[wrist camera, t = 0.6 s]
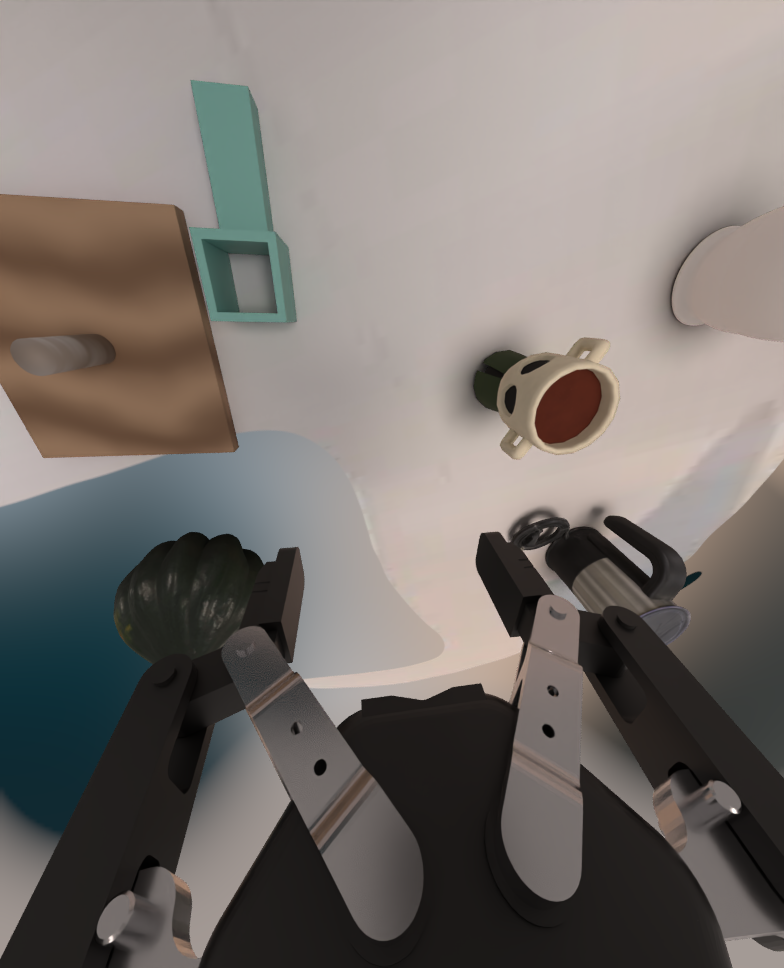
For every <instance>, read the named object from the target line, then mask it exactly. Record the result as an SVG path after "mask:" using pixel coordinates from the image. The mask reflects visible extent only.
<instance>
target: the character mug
mask: <svg viewBox="0 0 784 968" xmlns="http://www.w3.org/2000/svg"><path fill="white" fill-rule="evenodd" d="M609 348H610V342H609V341H608V340H605V339H596V338H585V337H584V338H580V339H579V340H578V341H577V342H576V343H575V344H574V345H573V347H572V348H571V349H570V351H569V352H568V353H567V355H566V356H565V355H560V354H554V353H547V352H545V353H540V354H535V355H531V356H529V357H526V356H524V355H522V354H519V353H516V352H513V351H511V350H507V351H501V352H496V353H494V354H493V355H491V356H490V357H488V358H487V359H485V360H484V362H483V363H485V364H487V365H489V367H488V368H487V369H486V370H485V373H484V372H481V371H477V373H476V376H475V381H474V390H475V394H476V398H477V399H478V400H479V401H480V402H481V403H482V405H483V406H484V407H486V408H488V409H491V410H494V411H497V412H499V414H500V417H501V419H502V421H503V422H504V423H505V424H506V425H507V426H508V427H509V428H510V430H509V431H508V433H507V434H506V435H505V437H504V438H503V439H502V441H501V443H500V446H501V449H502V450H503V451H504V452H505V453H506V454H508V455H509V456H510V457H511V458H512V459H516V460H520V459H521V458H522V457H523V456H524V455H525V454H526V453H527V451H528V450H529V449H530V448H531V446H532V445H534V446H535V447H537V448H538V449H540V450H542V451H545V452H548V453H552V454H555V455H561V454H570V453H574V452H576V451H579V450H581V449H583V448H585V447H587V446H589V445H590V444H592V443H593V442H594V441H595V440H596V439H597V438H599V437H600V436H601V435H602V434H603V433H604V432H605V430H606V429H607V427H608V426H609V424H610V423H611V421H612V420H613V418H614V417H615V414H616V411H617V407H618V404H619V400H620V391H619V381H618V380H617V378H616V377H615V375H614V373H613V372H612V370H611V369H610V368H608V367H605V366H603V365H601V364H598V363H599V362H600V360H601V359H602V358H603V357H604V355H605V354H606V353H607V352H608V350H609ZM584 351H591V352H590V353H589V354H588V355H587V357H586V358H585V359H580V358H579V357H580V356H581V355H582V353H583V352H584ZM519 435H520V436H521V437H523V439H522V440H521V441H520V443H519V444H518V445H517V446H514V445H513V443H514V441H515V440H516V439H517V438H518V436H519Z"/></svg>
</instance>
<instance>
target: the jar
mask: <svg viewBox="0 0 784 968" xmlns="http://www.w3.org/2000/svg"><path fill="white" fill-rule="evenodd" d="M672 308H673V312H674V314H675V316H676V318H677V319H678V320H679V321H680V322H681V323H683V324H685V325H690V326H697V325H702V324H707V325H708V326H710V327H712V328H715V329H717V330H721V331H724V332H729V333H734V334H740V335H743V336H747V337H751V338H756V339H761V340H768V341H777V342H784V206H782V207H780V208H777V209H775V210H772V211H770V212H768V213H766V214H763V215H761V216H759V217H757V218H755V219H753V220H752V221H750V222H748V223H746V224H745V225H743V226H729V227H725V228H722V229H720V230H718V231H716V232H714V233H712V234H711V235H709V236H708V237H707V238H705V239H704V240H703V241H702V242H701V243H700V244H699V245H698V246H697V247H696V248H695V249H694V250H693V251H692V252H691V254H690V255H689V256H688V258H687V259H686V260H685V262H684V264H683V265H682V267H681V269H680V271H679V273H678V275H677V278H676V280H675V284H674V287H673V292H672Z"/></svg>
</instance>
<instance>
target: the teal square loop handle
mask: <svg viewBox="0 0 784 968" xmlns="http://www.w3.org/2000/svg"><path fill="white" fill-rule="evenodd" d="M191 86H192V91H193V96H194V101H195V106H196V111H197V116H198V121H199V126H200V131H201V136H202V142H203V147H204V152H205V157H206V162H207V167H208V172H209V177H210V182H211V187H212V192H213V197H214V203H215V208H216V213H217V218H218V223H219V228H220V229H214V228H195V227H189V229H190V233H191V237H192V241H193V246H194V250H195V254H196V259H197V263H198V267H199V271H200V276H201V280H202V284H203V289H204V293H205V297H206V301H207V306H208V310H209V314H210V319H211V321H238V322H296V321H297V319H296V310H295V302H294V293H293V284H292V276H291V267H290V258H289V249H288V246H287V245H286V244H285V243H284V242H283V241H282V239H281V238H280V237H279V236H278V235H277V233H276V232H274V231H273V224H272V216H271V208H270V201H269V193H268V185H267V178H266V170H265V163H264V155H263V147H262V140H261V132H260V124H259V117H258V109H257V107H256V104H255V102H254V100H253V97H252V95H251V93H250V90H249V88H248V86H240V85H231V84H222V83H213V82H203V81H194V80H191ZM228 253H234V254H257V255H270V263H271V270H272V277H273V284H274V291H275V298H276V305H277V313H278V314H277V313H240V312H239V307H238V302H237V297H236V291H235V286H234V281H233V276H232V271H231V265H230V260H229V255H228Z"/></svg>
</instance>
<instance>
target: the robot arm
mask: <svg viewBox="0 0 784 968" xmlns="http://www.w3.org/2000/svg"><path fill="white" fill-rule="evenodd" d="M476 567H477V571H478V573H479V575H480V577H481V579H482V581H483V583H484V585H485V587H486V589H487V591H488V593H489V595H490V597H491V599H492V601H493V603H494V605H495V607H496V609H497V611H498V613H499V616H500V618H501V620H502V622H503V624H504V626H505V628H506V630H507V632H508V634H509V636H510V637H518V636H521V638H522V640H523V645H522V649H521V654H520V658H519V663H518V667H517V672H516V677H515V682H514V686H513V690H512V694H511V697H510V701H509V702H507V701H505V700H503V699H501V698H499V697H496V696H493V695H490V694H486V693H484V690H483V687H482V685H481V684H474V685H466V686H458V687H452V688H450V689H448V690H446V691H444V692H442V693H440V694H438V695H435V696H433V697H431V698H429V699H426V700H417V699H411V698H404V697H397V696H385V697H379V698H371V699H363V700H361V702H362V710H360V711H358V712H356V713H354V714H353V715H351V716H349V717H348V718H347V719H345V720H344V721H343V722H342V723H341V724H340V725H339V726H338V727H337V728H336V727H335V725H334V724H333V722H332V721H331V720H330V718H329V716H328V715H327V714H326V712H325V711H324V709H323V708H322V706H321V705H320V703H319V702H318V701H317V699H316V698H315V696H314V695H313V693H312V692H311V690H310V689H309V687H308V686H307V685H306V683H305V682H304V680H303V679H302V677H301V676H300V675H299V674H298V673H297V672H295V673H294V672H293V671H292V670H291V668H290V667H289V665H288V664H287V663H292V662H293V656H294V649H295V642H296V636H297V630H298V623H299V617H300V610H301V604H302V598H303V590H304V571H303V566H302V561H301V556H300V550H299V548H298V547H294V548H282V549H279V552H278V555H277V559H276V561H274V562H266V564H265V565H264V566H263V567H262V568H261V569H260V571H259V572H258V574H257V577H256V580H255V585H254V586H253V589H252V594H251V595H250V598H249V601H248V604H247V607H246V610H245V613H244V616H243V619H242V622H241V625H240V627H239V630H238V631H237V632H235V633H234V634H233V635H232V636H230V637H229V639H228V640H227V641H226V642H225V644H224V646H223V647H221V648H219V649H218V650H215V651H213V652H211V653H208V654H205V655H203V656H200V657H198V658H195V659H193V660H191V658H190V657H189V656H187V655H185V654H172V655H169V656H166V657H164V658H162V659H160V660H159V661H157V662H156V663H154V664H153V665H152V666H151V667H150V668H149V669H148V670H147V671H146V672H145V673H144V674H143V676H142V677H141V679H140V681H139V682H138V685H137V686H136V688H135V691H134V693H133V695H132V696H131V699H130V701H129V702H128V705H127V707H126V708H125V711H124V713H123V714H122V717H121V719H120V720H119V723H118V725H117V727H116V728H115V730H114V733H113V734H112V736H111V738H110V740H109V743H108V744H107V747H106V749H105V751H104V753H103V755H102V757H101V759H100V761H99V763H98V765H97V767H96V769H95V771H94V773H93V775H92V777H91V779H90V781H89V783H88V785H87V787H86V789H85V791H84V793H83V795H82V797H81V799H80V801H79V803H78V805H77V807H76V809H75V811H74V813H73V815H72V817H71V819H70V821H69V823H68V825H67V827H66V829H65V831H64V833H63V835H62V837H61V839H60V841H59V843H58V845H57V847H56V849H55V851H54V853H53V855H52V857H51V859H50V861H49V863H48V865H47V867H46V869H45V871H44V873H43V875H42V877H41V879H40V881H39V883H38V885H37V887H36V889H35V891H34V893H33V895H32V897H31V899H30V901H29V903H28V905H27V907H26V909H25V911H24V913H23V915H22V917H21V919H20V921H19V923H18V925H17V927H16V929H15V931H14V933H13V935H12V937H11V939H10V941H9V943H8V945H7V947H6V949H5V951H4V953H3V955H2V957H1V959H0V968H732V964H731V961H730V958H729V954H728V951H727V947H726V944H725V941H731V940H739V939H747V938H752V939H754V940H755V941H756V942H758V943H759V944H761V945H762V946H764V947H766V948H768V949H771V950H773V951H784V778H783V777H782V776H781V775H780V774H779V772H778V771H777V770H776V769H775V768H774V767H773V766H772V765H771V763H770V762H769V761H768V760H767V759H766V758H765V757H764V755H763V754H762V753H761V752H760V751H759V750H758V749H757V748H756V746H755V745H754V744H753V743H752V742H751V741H750V740H749V739H748V738H747V736H746V735H745V734H744V733H743V732H742V731H741V729H740V728H739V727H738V726H737V725H736V724H735V723H734V722H733V720H732V719H731V718H730V717H729V716H728V715H727V714H726V713H725V711H724V710H723V709H722V708H721V707H720V706H719V705H718V703H717V702H716V701H715V700H714V699H713V698H712V697H711V696H710V695H709V693H708V692H707V691H706V690H705V689H704V688H703V686H702V685H701V684H700V683H699V682H698V681H697V680H696V679H695V677H694V676H693V675H692V674H691V673H690V672H689V671H688V669H687V668H686V667H685V666H684V665H683V664H682V663H681V662H680V660H679V659H678V658H677V657H676V656H675V655H674V654H673V653H672V651H671V650H670V649H669V648H668V647H667V646H666V645H665V643H664V642H663V641H662V640H661V639H660V638H659V637H658V636H657V634H656V633H655V632H654V631H653V630H652V629H651V628H650V626H649V625H648V624H647V623H646V622H645V621H644V620H643V619H642V618H641V617H640V616H639V615H637V614H636V613H634V612H633V611H631V610H629V609H627V608H624V607H621V606H608V607H606V608H605V609H604V610H603V612H602V614H598V613H592V612H586V611H581V610H577V609H576V608H575V606H574V605H573V604H571V603H570V602H569V601H567V600H566V599H564V598H562V597H559V596H556V595H554V594H553V592H552V591H551V590H550V588H549V587H548V585H547V584H546V583H545V581H544V580H543V579H542V577H541V576H540V574H539V573H538V572H537V570H536V569H535V568H534V567H533V565H532V563H531V562H530V561H529V560H528V558H527V556H526V555H525V554H524V552H523V551H522V550H521V549H520V548H519V547H517V546H516V545H515V544H513V543H512V542H508V543H507V542H506V541H505V539H504V538H503V536H502V535H501V533H500V532H488V533H481V535H480V539H479V544H478V549H477V555H476ZM583 671H584V672H585V674H586V676H587V677H588V679H589V681H590V682H591V684H592V686H593V687H594V689H595V690H596V692H597V694H598V696H599V697H600V699H601V701H602V702H603V704H604V706H605V708H606V709H607V711H608V712H609V714H610V716H611V718H612V719H613V721H614V723H615V724H616V726H617V728H618V729H619V731H620V733H621V734H622V736H623V738H624V740H625V741H626V743H627V745H628V746H629V748H630V750H631V751H632V753H633V755H634V756H635V758H636V760H637V761H638V763H639V765H640V766H641V768H642V770H643V771H644V773H645V775H646V776H647V778H648V780H649V782H650V783H651V785H652V787H653V788H654V793H653V806H654V810H655V813H656V815H657V818H658V824H659V828H660V830H661V832H662V834H663V835H664V836H665V838H664V837H663V836H662V835H661V834H660V833H659V832H658V831H657V830H655V829H654V828H653V827H652V826H651V825H650V824H649V823H648V822H646V821H645V820H644V819H643V818H642V817H641V816H640V815H638V814H637V813H636V812H635V811H634V810H633V809H632V808H630V807H629V806H628V805H627V804H626V803H625V802H624V801H623V800H621V799H620V798H619V797H618V796H617V795H615V794H614V793H613V792H612V791H611V790H610V789H609V788H608V787H606V786H605V785H604V784H603V783H602V782H601V781H600V780H599V779H597V778H596V777H595V776H594V775H593V774H592V773H591V772H589V771H588V770H587V769H586V768H585V767H584V766H583V765H581V764H580V749H581V719H582V689H583ZM243 709H246V711H247V713H248V715H249V717H250V719H251V721H252V723H253V724H254V727H255V729H256V731H257V733H258V735H259V737H260V739H261V741H262V743H263V745H264V747H265V749H266V751H267V753H268V755H269V757H270V759H271V761H272V763H273V765H274V767H275V769H276V771H277V773H278V776H279V777H280V780H281V782H282V784H283V786H284V788H285V790H286V791H287V794H288V795H289V798H290V800H291V801H290V803H289V805H288V806H287V808H286V810H285V812H284V813H283V815H282V816H281V818H280V820H279V821H278V823H277V825H276V827H275V828H274V830H273V831H272V833H271V835H270V836H269V838H268V840H267V841H266V843H265V845H264V846H263V848H262V850H261V852H260V853H259V855H258V857H257V858H256V860H255V862H254V863H253V865H252V867H251V868H250V870H249V871H248V873H247V875H246V876H245V878H244V880H243V882H242V883H241V885H240V887H239V888H238V890H237V892H236V893H235V895H234V897H233V898H232V900H231V902H230V903H229V905H228V907H227V908H226V910H225V912H224V913H223V915H222V917H221V918H220V920H219V922H218V924H217V925H216V927H215V929H214V931H213V933H212V935H211V937H210V940H209V942H208V944H207V946H206V948H205V951H204V953H203V956H202V958H197V957H196V955H195V953H194V952H193V950H192V946H191V943H190V935H189V929H190V918H191V910H192V897H191V892H190V889H189V887H188V885H187V883H186V882H184V881H183V880H182V879H180V878H179V877H178V876H176V875H175V872H176V868H177V864H178V860H179V857H180V853H181V849H182V845H183V842H184V838H185V834H186V830H187V827H188V823H189V819H190V816H191V812H192V808H193V804H194V800H195V797H196V793H197V789H198V785H199V782H200V777H201V774H202V770H203V766H204V762H205V759H206V755H207V751H208V748H209V744H210V740H211V737H212V733H213V729H214V725H215V723H216V722H218V721H220V720H223V719H224V718H226V717H229V716H231V715H233V714H235V713H237V712H239V711H241V710H243Z"/></svg>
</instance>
